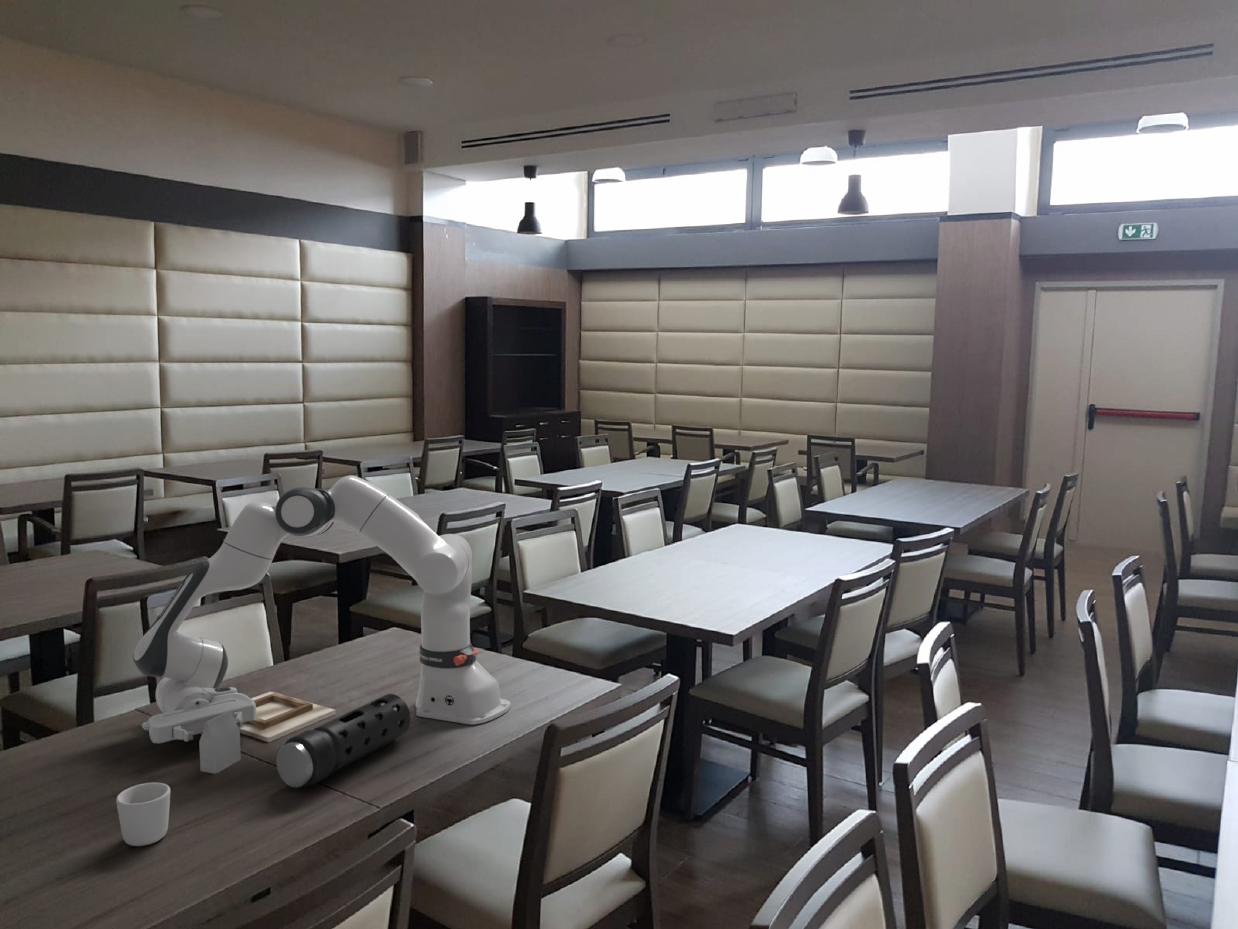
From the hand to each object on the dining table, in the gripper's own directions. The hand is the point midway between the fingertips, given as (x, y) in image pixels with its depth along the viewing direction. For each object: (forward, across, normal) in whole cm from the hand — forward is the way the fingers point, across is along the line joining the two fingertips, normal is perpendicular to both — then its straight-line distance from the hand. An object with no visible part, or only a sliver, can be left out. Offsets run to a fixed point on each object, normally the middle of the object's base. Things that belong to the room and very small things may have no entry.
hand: (214, 730), depth 181 cm
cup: (+23, -18, +6) cm, 30 cm away
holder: (-15, +16, +6) cm, 22 cm away
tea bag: (+3, 0, +6) cm, 7 cm away
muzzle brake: (+19, +19, +6) cm, 28 cm away
